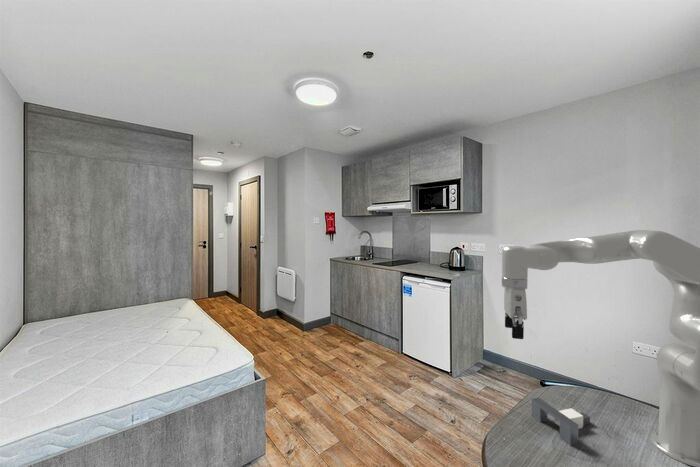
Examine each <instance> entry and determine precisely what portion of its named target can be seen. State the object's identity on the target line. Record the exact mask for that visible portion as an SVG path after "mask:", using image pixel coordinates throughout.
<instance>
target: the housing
mask: <svg viewBox="0 0 700 467" xmlns="http://www.w3.org/2000/svg"><path fill="white" fill-rule="evenodd" d="M559 411H560V410H558V409H556V408H554V407H553V406H552V405H550V404H549V403H547V402H546V401H545V400H543V399H541V398H540V397H535V398H531V416H532V418H534V419H535V420H536V421H538V422H539V423H543V422H546V421H548V415H550V416H551V417H552V418H554V420H555V419H557V420H558V421H559V422H560V426H559V438H560V439H562V440H563V441H564V442H565V443H566V444H567V445H569V446H573V445H574V446H575V445H578V444H579V429H578V424H577V423H575V422H574V421H572V420H571V419H569V418H568V417H566V416H565V415H563V414H562V413H561V412H559Z"/></svg>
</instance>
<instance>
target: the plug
mask: <svg viewBox="0 0 700 467" xmlns="http://www.w3.org/2000/svg"><path fill="white" fill-rule="evenodd" d="M558 411H559V412H561V413H562V414H563V415H565V416H566V417H568V418H569V419H571V420H572V421H574V422H575V423H577V424H578V430H579V429H582V428H583V429H584V426H586V425H590V424H591V417H590V416H589V415H588V414H586V413H584V412H582V411H581V412H579V411H578V412H577V411H576V410H575V409H574V408H571V407H570V408H566V409H562V410H561V409H560V410H558ZM554 424H555V425H557V426H558V427H560V422H559V421H558V420H557V419H555V418H554Z"/></svg>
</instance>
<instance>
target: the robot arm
mask: <svg viewBox="0 0 700 467" xmlns="http://www.w3.org/2000/svg"><path fill="white" fill-rule="evenodd" d="M501 251H502V252H501V287H502V288H504V294H503V296H504V297H503V304H504V305H503V307H504V312H505V313H504V327H505V328H509V329H511V337H512V339H516V340H524V336H525V335H524V330H525V328H524V327H525V325H524V323H525V322H524V321H526V320H527V319H528V306H527V305H528V304H527V302H528V301H527V292H526V290H527V289H528V274H529V273H528V272H529V271H528V270H529V269H532V270H538V271H549V270H552V269H554V268H556V267H557V266H558V265H559V263H577V264H586V265H587V264H588V265H590V264H594V265H595V264H596V265H598V264H604V263H612V262H620V261H629V260H630V261H631V260H636V259H637V260H638V259H640V260H641V259H642V260H647V261H652V264H653V266H654V268H655V270H656V271H657V272H658V273H659V274H661V275H662V276H663V277H665V278H666V279H667V280H668V282H669V283H670V284H671V286H672V288H673V301H672V307H671V312H670V313H671V314H670V319H669V324H668V325H669V326H668V328H669V331H670V333H671V334H672V335H673V336H674V337H675V338H677V339H678V340H680V341H682V342H684V343H686V344H688V345H690V346H692V347H690V346H688V345H684V344H681V343H667V344H665V345H662V346H661V347H660V348H659V350H658V351H657V354H656V364H657V367H658V368H657V369H658V373H659V374H658V375H659V388H660V389H659V404H658V406H659V407H658V408H659V410H658V412H659V414H658V431H657V432H652V433H651V435H650V441H651V443H652V445H654V446H655V447H656V448H657V449H658V450H659V451H661V452H662V453H663V454H665V455H666V456H668V457H670V458H672V459H674V460H675V461H678V462H680V463H682V464H685V465H689V466H692V467H700V247H698V246H696V245H694V244H692V243H691V242H688V241H686V240H684V239H682V238H679V237H678V236H676V235H674V234H671V233H669V232H665V231H660V230H649V229H647V230H644V229H638V230H637V229H635V230H628V231H622V232H621V231H620V232H615V233H609V234H608V233H607V234H602V235H601V234H600V235H594V236H587V237H578V238H572V239H564V240H554V241H548V242H542V243H541V242H539V243H535V244H531V245H528V246H527V247H525V246H519V245H507V246H504V247H503V248H502V250H501ZM693 347H695V348H693Z"/></svg>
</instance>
